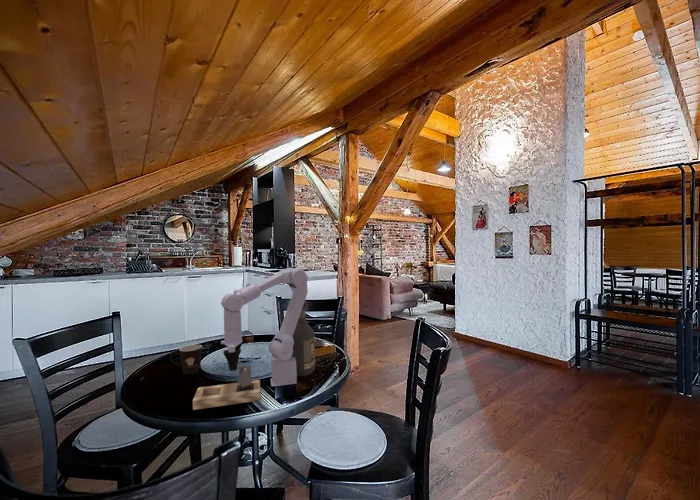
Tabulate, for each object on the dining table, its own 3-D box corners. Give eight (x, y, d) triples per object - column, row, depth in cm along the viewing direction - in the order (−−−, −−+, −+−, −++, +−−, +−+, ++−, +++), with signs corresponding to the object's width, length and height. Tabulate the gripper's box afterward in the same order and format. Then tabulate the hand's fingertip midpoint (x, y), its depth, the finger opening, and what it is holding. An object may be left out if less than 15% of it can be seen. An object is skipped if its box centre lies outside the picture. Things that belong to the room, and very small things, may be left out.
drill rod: (251, 392, 118) (250, 364, 117) (251, 397, 114) (250, 369, 113) (239, 394, 116) (238, 366, 116) (239, 399, 113) (238, 370, 112)
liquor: (287, 375, 132) (285, 301, 132) (296, 366, 141) (295, 297, 140) (308, 377, 130) (307, 301, 129) (316, 368, 139) (315, 297, 138)
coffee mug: (206, 367, 142) (206, 344, 142) (195, 375, 133) (194, 351, 133) (181, 367, 143) (180, 344, 143) (168, 375, 135) (167, 350, 134)
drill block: (260, 387, 121) (259, 379, 121) (260, 400, 112) (260, 391, 112) (198, 396, 115) (198, 387, 115) (192, 409, 106) (192, 400, 106)
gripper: (223, 324, 121) (224, 360, 122) (218, 334, 107) (219, 375, 108) (243, 322, 123) (244, 358, 124) (240, 332, 109) (242, 372, 110)
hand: (234, 366), depth 116 cm, fingers open, 7 cm apart
